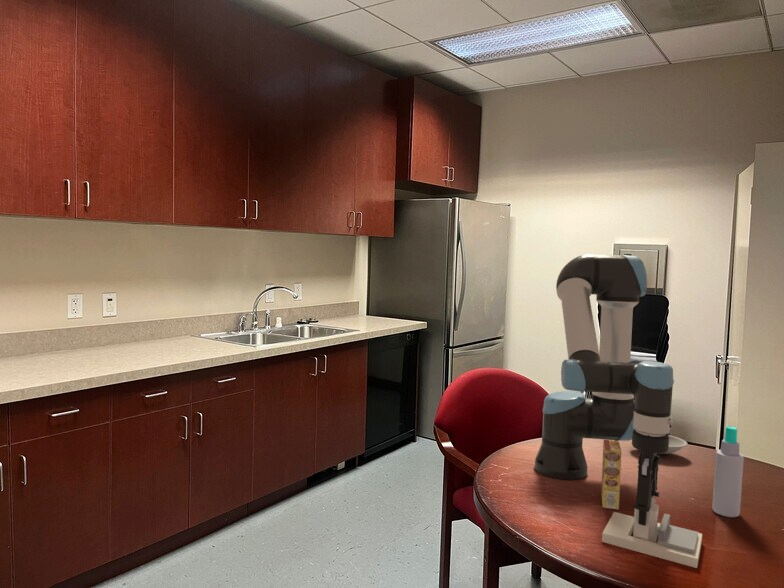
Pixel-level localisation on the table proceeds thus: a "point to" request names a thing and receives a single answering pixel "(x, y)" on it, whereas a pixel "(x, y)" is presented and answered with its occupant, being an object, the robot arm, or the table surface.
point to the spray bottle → (728, 476)
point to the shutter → (676, 536)
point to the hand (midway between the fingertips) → (644, 530)
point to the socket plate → (645, 541)
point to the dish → (675, 444)
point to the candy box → (611, 474)
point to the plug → (653, 522)
